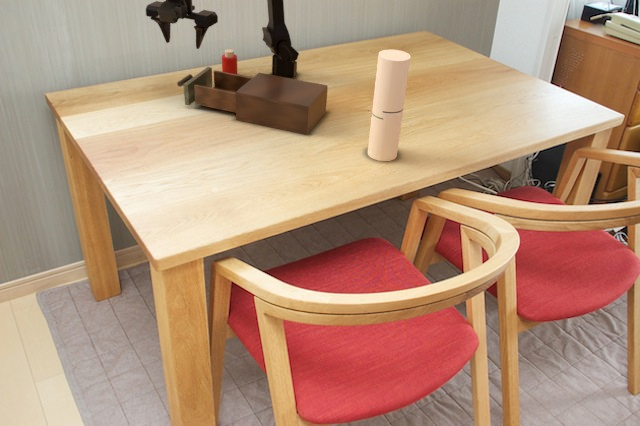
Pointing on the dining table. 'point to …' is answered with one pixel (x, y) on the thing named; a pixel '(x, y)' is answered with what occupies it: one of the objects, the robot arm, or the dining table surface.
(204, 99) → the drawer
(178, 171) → the dining table surface
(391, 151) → the cylindrical container
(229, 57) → the ketchup bottle
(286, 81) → the cabinet
